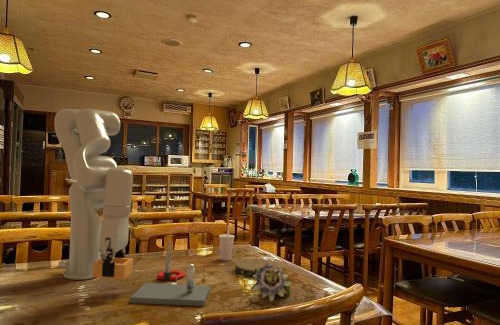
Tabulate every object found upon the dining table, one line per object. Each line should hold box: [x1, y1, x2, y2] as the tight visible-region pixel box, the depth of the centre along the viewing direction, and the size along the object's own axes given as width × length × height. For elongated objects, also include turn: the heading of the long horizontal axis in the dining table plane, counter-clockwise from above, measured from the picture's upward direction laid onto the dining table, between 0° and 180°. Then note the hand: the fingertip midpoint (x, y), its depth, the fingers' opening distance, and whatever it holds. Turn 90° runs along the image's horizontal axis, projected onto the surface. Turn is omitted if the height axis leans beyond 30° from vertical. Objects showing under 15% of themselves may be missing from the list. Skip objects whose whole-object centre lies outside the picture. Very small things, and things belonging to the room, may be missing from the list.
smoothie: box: [218, 224, 235, 262], centre depth 143 cm, size 6×6×14 cm
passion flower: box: [250, 261, 292, 303], centre depth 103 cm, size 11×11×12 cm
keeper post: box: [186, 263, 195, 292], centre depth 100 cm, size 2×2×8 cm
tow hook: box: [156, 240, 185, 282], centre depth 119 cm, size 8×13×9 cm
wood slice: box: [235, 258, 280, 279], centre depth 127 cm, size 16×16×3 cm
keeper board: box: [130, 282, 211, 307], centre depth 100 cm, size 20×12×2 cm, turn 88°
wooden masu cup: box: [93, 256, 134, 280], centre depth 102 cm, size 9×7×4 cm
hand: (113, 271), depth 102 cm, fingers closed on wooden masu cup, 6 cm apart
